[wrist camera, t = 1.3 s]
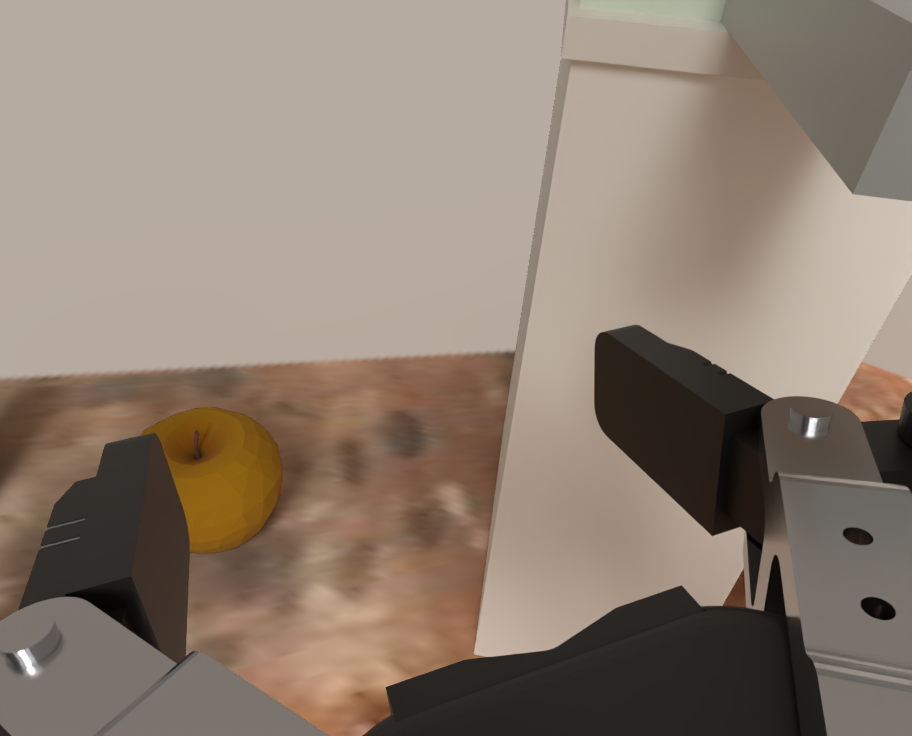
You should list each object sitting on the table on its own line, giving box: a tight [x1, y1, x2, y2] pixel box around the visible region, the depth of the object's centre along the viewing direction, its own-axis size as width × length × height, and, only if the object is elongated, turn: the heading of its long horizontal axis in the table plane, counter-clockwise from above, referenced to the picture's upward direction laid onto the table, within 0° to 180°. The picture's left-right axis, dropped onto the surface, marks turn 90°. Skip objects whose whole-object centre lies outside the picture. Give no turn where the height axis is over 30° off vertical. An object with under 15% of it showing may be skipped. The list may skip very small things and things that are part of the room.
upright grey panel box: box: [474, 0, 912, 657], centre depth 34 cm, size 12×19×32 cm, turn 172°
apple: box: [141, 407, 282, 553], centre depth 39 cm, size 9×9×9 cm
